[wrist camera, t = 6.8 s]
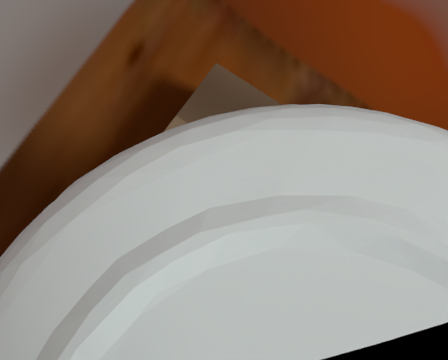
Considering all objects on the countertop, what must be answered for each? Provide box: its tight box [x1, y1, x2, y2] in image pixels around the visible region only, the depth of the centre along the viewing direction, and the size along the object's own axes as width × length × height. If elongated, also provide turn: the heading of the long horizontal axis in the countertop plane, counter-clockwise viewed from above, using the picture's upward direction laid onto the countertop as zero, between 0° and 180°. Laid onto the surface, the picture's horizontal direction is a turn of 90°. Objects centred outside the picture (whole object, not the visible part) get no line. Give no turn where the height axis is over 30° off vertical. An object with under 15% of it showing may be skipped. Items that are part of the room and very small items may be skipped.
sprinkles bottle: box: [0, 104, 448, 360], centre depth 8 cm, size 5×5×14 cm
